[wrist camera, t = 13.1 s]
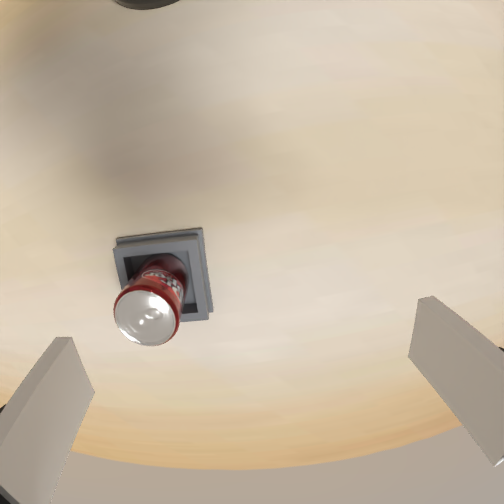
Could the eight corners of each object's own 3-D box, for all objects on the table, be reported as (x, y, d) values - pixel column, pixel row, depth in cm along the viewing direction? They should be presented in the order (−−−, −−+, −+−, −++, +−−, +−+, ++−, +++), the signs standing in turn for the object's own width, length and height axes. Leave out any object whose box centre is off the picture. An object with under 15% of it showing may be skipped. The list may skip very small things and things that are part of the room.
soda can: (153, 308, 43) (132, 356, 31) (130, 263, 40) (99, 300, 29) (198, 291, 42) (190, 337, 31) (176, 244, 40) (159, 277, 29)
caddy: (118, 237, 40) (108, 245, 37) (202, 227, 41) (200, 235, 37) (135, 315, 44) (128, 328, 40) (213, 308, 45) (212, 322, 41)
